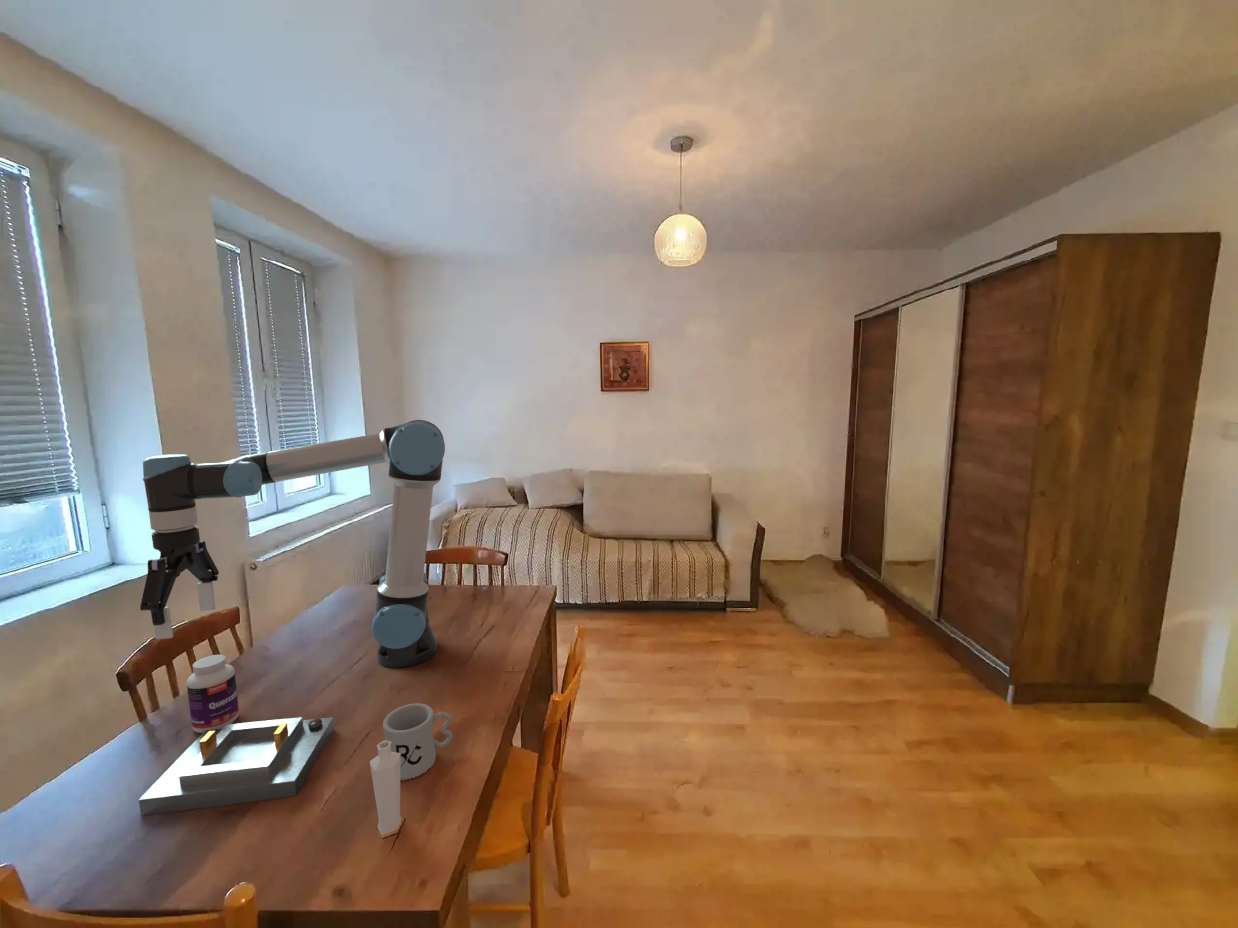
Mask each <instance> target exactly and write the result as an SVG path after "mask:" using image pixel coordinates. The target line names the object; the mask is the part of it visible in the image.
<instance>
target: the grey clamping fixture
mask: <svg viewBox="0 0 1238 928" xmlns="http://www.w3.org/2000/svg"><path fill="white" fill-rule="evenodd" d="M334 731H335V723H334V717H333V716H332V717H321V718H311V719H304V718H303V717H301V716H299V717H291V718H290V717H289V718H280V719H270V720H260V721H249V722H241V723H231V724H229V725H225V727H224V728H222V729H214V730H205V731H204V732H203V733H201V734H200V735H199V736H198V738H196V740H195V741H193V743H192V744H191V745H190V746H188V748H187V749H186V750H185V751H184V752H183V753H182V754H181V755H180V756H179V757H178V758H177V759H176V760H175V761H174V762H173V763H172V765H171V766H170V767H169V768H167V770H166V771H165V772H164V773H163V774H162V775H161V776H160V777H158V779H157V780H156V781H155V782H154V783H152V785H151V787H149V788H148V789H147V791H146V792H145V793H144V794H143V795H142V796H140V798H139V799H138V803H139V804H138V805H139V809H140V810H139V811H140V816H149V815H151V816H152V815H156V814H157V815H158V814H165V813H166V814H167V813H172V812H173V813H174V812H181V811H189V810H190V811H191V810H195V809H196V810H197V808H198V809H206V808H213V807H221V806H228V805H236V804H245V803H252V802H259V801H268V800H275V799H277V800H278V799H282V798H283V799H284V798H293V797H297V796H298V793H299V792H300V790H301V788H302V787H303V785H304V783H305V782H306V779H308V777H309V775H310V773H311V771H312V770H313V768H314V766H315V764H316V763H317V761H318V759H319V757H320V756H321V754H322V752H323V751H324V749H325V747H326V745H327V743H328V742H329V740H330V738H331V737H332V735H333V733H334Z"/></svg>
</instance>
